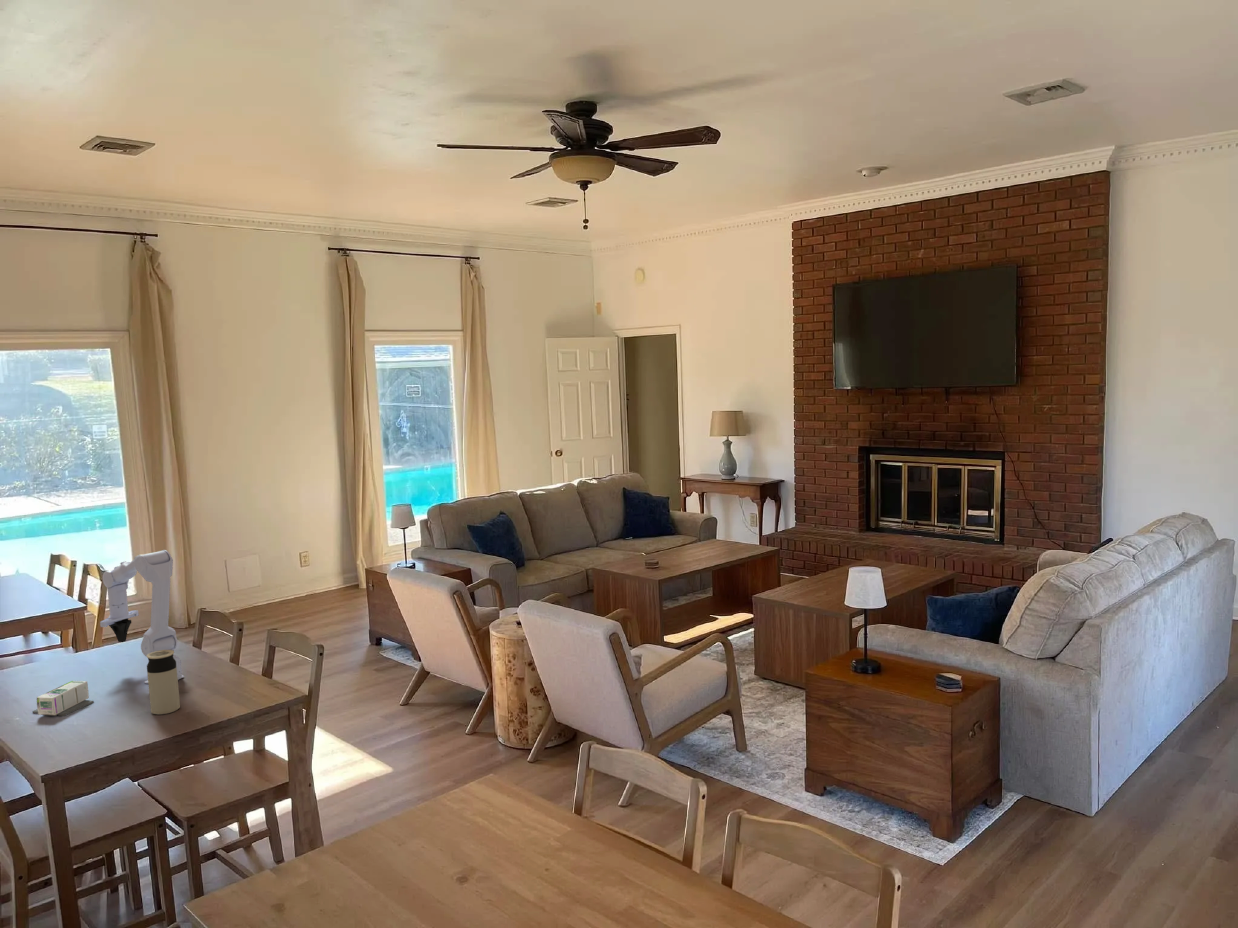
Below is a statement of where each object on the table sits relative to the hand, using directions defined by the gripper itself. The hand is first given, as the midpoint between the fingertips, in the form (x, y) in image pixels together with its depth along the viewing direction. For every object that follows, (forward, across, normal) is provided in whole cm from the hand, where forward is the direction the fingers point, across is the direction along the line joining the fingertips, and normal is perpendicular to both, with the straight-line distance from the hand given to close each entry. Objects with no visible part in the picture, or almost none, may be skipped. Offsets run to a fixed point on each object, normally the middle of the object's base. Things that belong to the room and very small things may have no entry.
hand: (122, 641), depth 309 cm
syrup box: (+7, +26, +9) cm, 29 cm away
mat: (+10, +33, +10) cm, 36 cm away
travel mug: (+11, +28, +44) cm, 53 cm away
